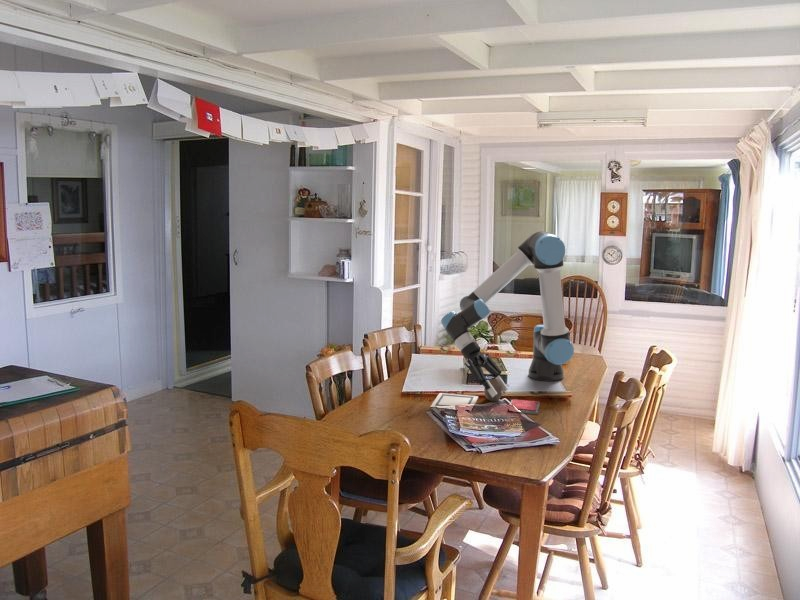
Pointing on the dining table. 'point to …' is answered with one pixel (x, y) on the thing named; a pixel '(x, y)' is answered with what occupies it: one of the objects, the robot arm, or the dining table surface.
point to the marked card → (453, 399)
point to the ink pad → (526, 406)
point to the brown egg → (497, 389)
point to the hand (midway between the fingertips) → (500, 393)
